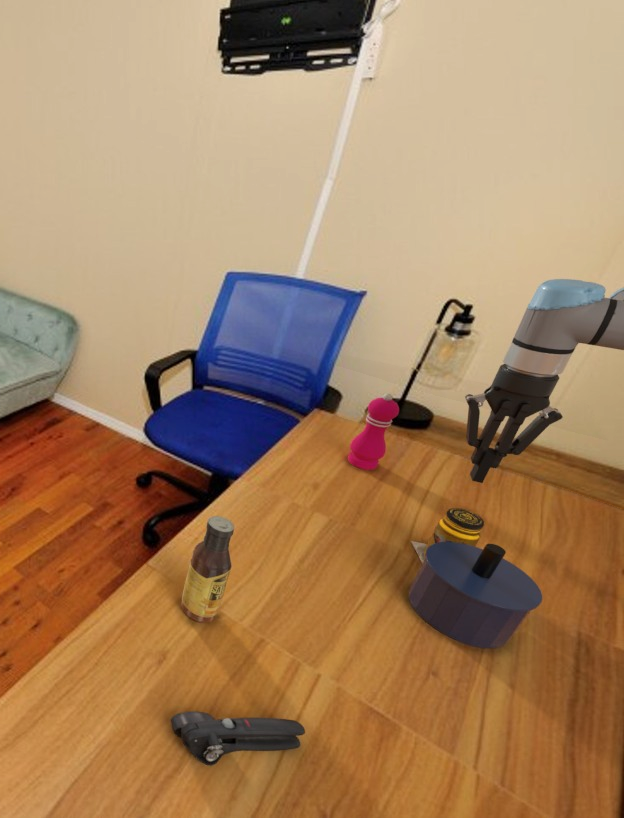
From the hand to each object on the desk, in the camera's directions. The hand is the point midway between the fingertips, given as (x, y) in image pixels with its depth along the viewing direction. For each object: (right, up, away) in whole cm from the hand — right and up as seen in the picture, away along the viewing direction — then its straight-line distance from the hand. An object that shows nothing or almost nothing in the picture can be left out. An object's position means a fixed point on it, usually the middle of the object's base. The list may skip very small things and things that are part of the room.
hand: (476, 478), depth 99 cm
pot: (-13, -22, -10) cm, 28 cm away
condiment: (-6, -17, +1) cm, 18 cm away
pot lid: (-14, -14, -15) cm, 24 cm away
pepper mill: (0, -1, +30) cm, 30 cm away
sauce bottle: (-58, -22, -8) cm, 63 cm away
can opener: (-62, -33, -28) cm, 75 cm away
